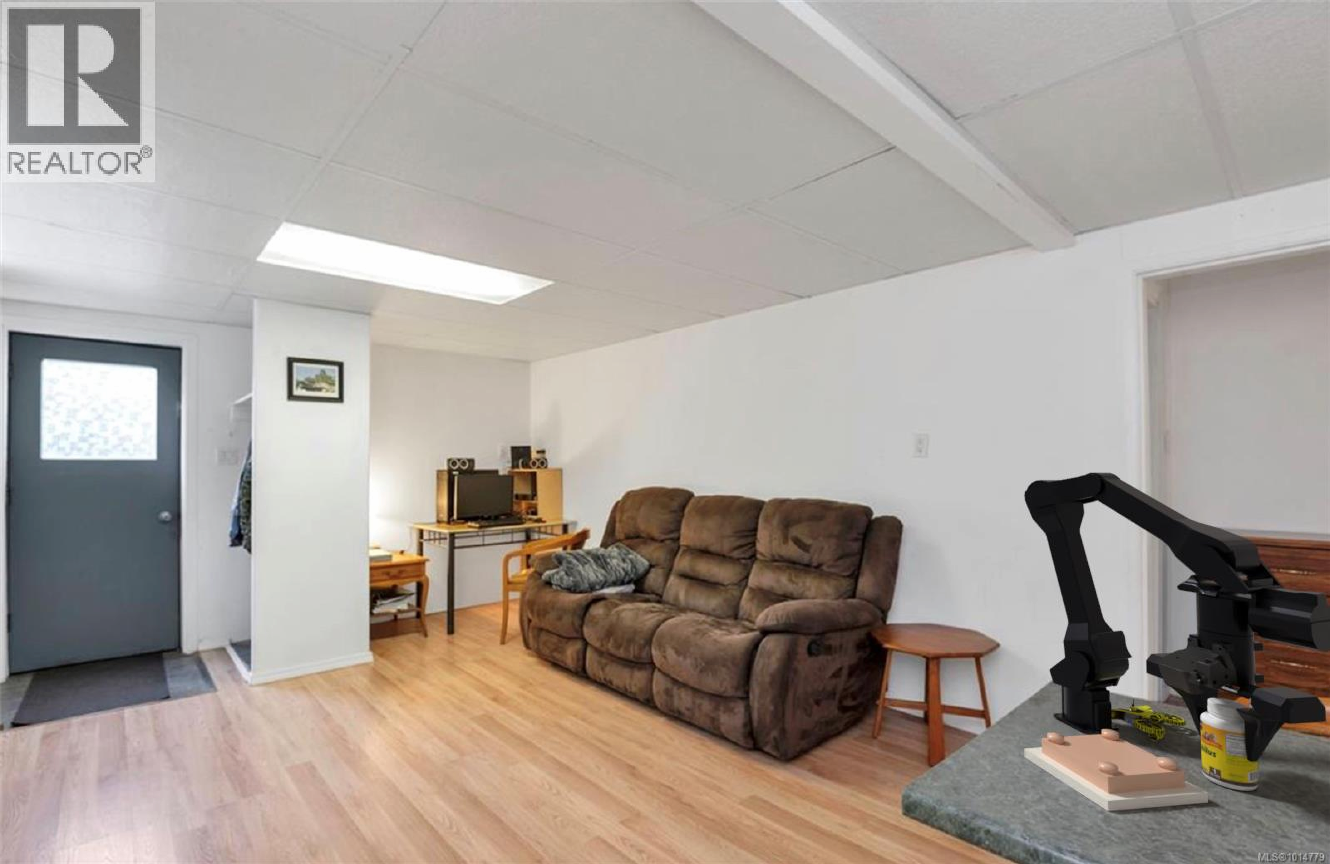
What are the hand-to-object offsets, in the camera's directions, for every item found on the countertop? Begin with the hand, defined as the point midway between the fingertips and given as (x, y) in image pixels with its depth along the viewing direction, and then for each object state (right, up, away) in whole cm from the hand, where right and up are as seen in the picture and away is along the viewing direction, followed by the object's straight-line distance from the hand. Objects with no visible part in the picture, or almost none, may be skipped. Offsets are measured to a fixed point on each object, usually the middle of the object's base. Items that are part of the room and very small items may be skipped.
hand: (1228, 750), depth 83 cm
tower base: (-15, -4, 0) cm, 16 cm away
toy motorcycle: (+1, -5, +16) cm, 17 cm away
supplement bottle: (0, -4, 0) cm, 4 cm away
